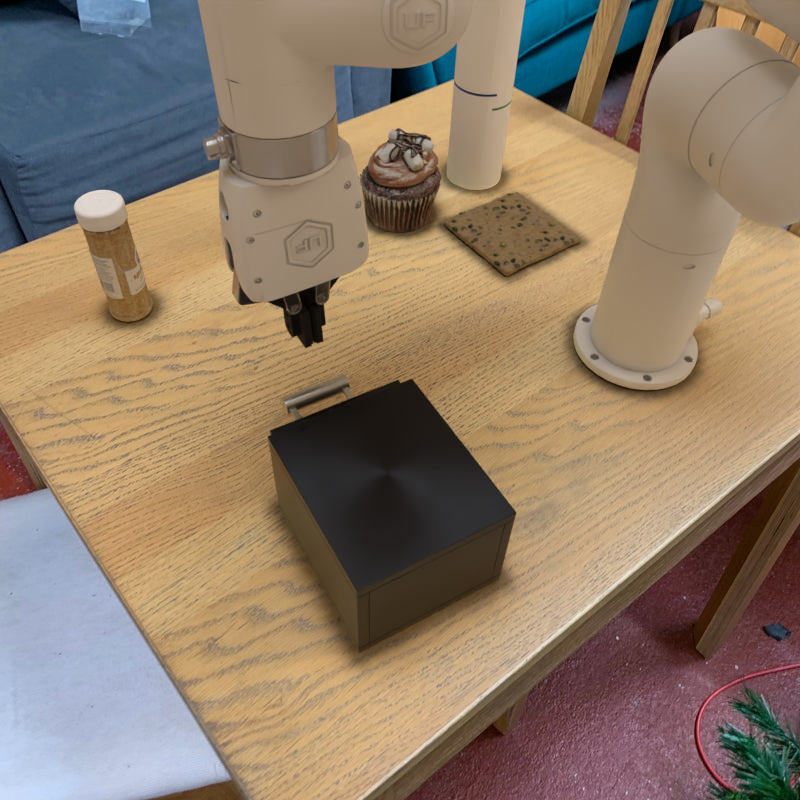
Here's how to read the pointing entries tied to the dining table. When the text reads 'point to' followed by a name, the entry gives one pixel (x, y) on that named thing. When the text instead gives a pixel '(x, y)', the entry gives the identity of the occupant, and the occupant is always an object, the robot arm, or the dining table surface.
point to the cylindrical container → (483, 93)
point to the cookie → (511, 232)
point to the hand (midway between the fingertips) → (306, 334)
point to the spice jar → (114, 253)
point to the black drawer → (321, 398)
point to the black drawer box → (389, 510)
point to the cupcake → (401, 182)
